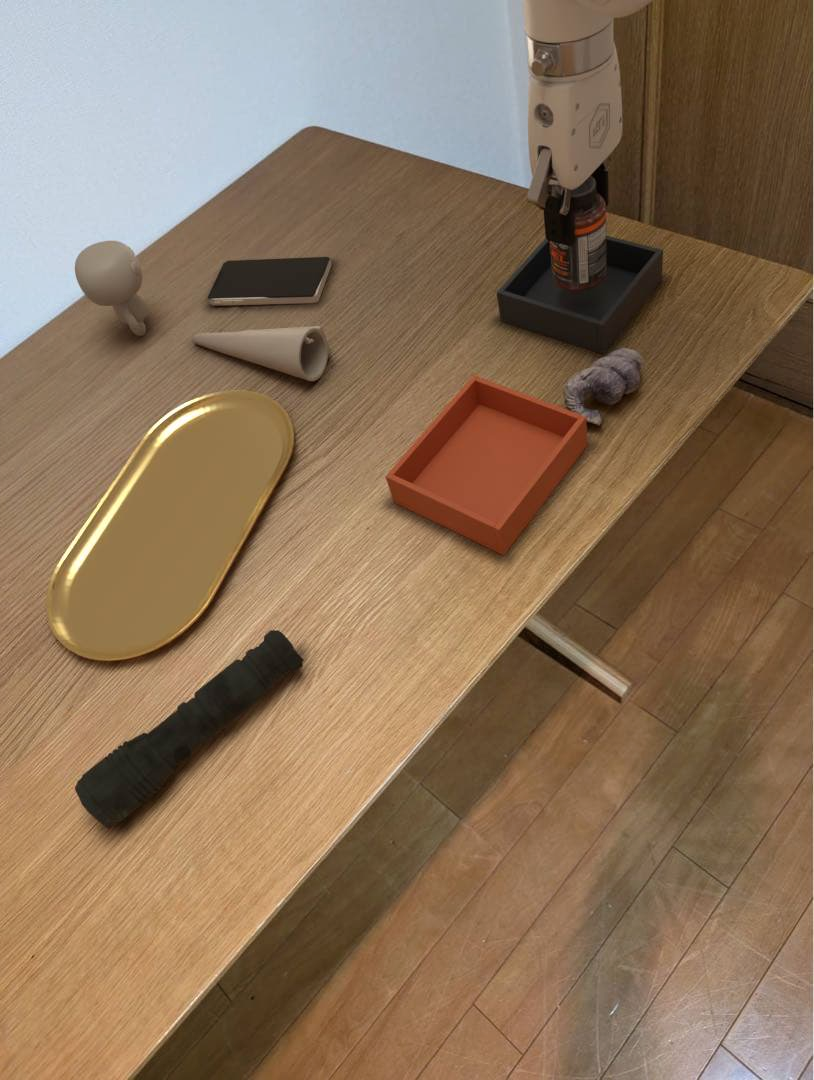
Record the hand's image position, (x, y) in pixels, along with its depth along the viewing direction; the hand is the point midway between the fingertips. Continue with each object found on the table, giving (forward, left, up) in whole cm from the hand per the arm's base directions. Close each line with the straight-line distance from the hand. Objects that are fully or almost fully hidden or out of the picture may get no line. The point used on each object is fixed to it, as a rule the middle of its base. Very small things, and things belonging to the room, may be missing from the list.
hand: (577, 221), depth 89 cm
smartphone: (+38, +13, -11) cm, 42 cm away
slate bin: (0, 0, -10) cm, 10 cm away
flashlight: (+1, +62, -11) cm, 63 cm away
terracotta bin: (-5, +26, -10) cm, 28 cm away
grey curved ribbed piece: (-10, +12, -11) cm, 19 cm away
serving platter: (+21, +47, -11) cm, 52 cm away
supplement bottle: (0, 0, -7) cm, 7 cm away
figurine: (+49, +27, -11) cm, 57 cm away
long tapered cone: (+30, +25, -11) cm, 40 cm away
